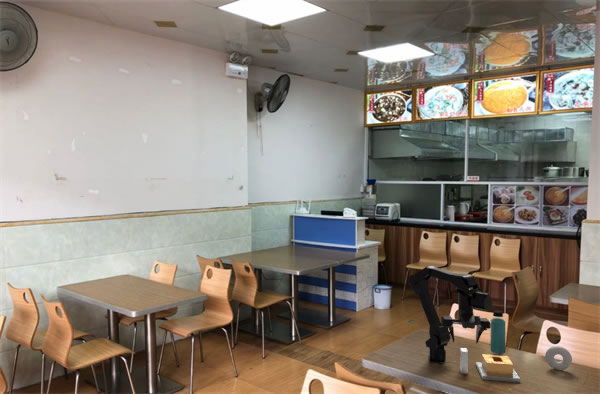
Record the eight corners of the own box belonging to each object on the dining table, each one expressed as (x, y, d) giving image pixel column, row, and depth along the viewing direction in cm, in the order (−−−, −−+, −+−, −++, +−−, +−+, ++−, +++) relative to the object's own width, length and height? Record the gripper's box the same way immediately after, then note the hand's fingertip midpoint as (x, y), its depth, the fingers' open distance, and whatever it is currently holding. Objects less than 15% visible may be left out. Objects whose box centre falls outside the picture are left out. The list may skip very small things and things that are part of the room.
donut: (571, 370, 192) (571, 346, 192) (572, 373, 189) (573, 349, 188) (544, 366, 196) (544, 343, 196) (545, 369, 193) (545, 345, 192)
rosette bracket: (482, 379, 183) (482, 364, 183) (475, 364, 198) (475, 350, 198) (520, 382, 180) (520, 367, 180) (510, 367, 195) (510, 353, 195)
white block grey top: (461, 372, 189) (461, 351, 189) (460, 369, 193) (460, 347, 193) (467, 373, 189) (467, 351, 189) (466, 369, 193) (466, 348, 192)
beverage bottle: (507, 358, 205) (507, 313, 205) (491, 356, 207) (492, 312, 206) (503, 352, 212) (504, 309, 211) (488, 351, 213) (489, 308, 212)
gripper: (445, 309, 184) (444, 348, 184) (494, 312, 181) (493, 351, 181) (441, 302, 195) (440, 338, 195) (487, 304, 192) (486, 341, 192)
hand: (465, 342), depth 191 cm, fingers open, 9 cm apart
